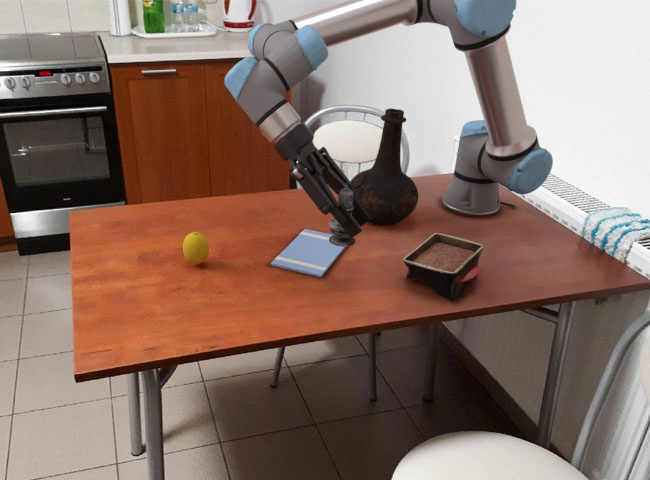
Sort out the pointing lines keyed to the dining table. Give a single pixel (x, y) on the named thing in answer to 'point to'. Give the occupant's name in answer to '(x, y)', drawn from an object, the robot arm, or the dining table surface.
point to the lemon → (195, 248)
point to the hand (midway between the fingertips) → (361, 228)
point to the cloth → (309, 253)
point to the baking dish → (445, 264)
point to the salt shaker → (338, 232)
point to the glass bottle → (387, 178)
